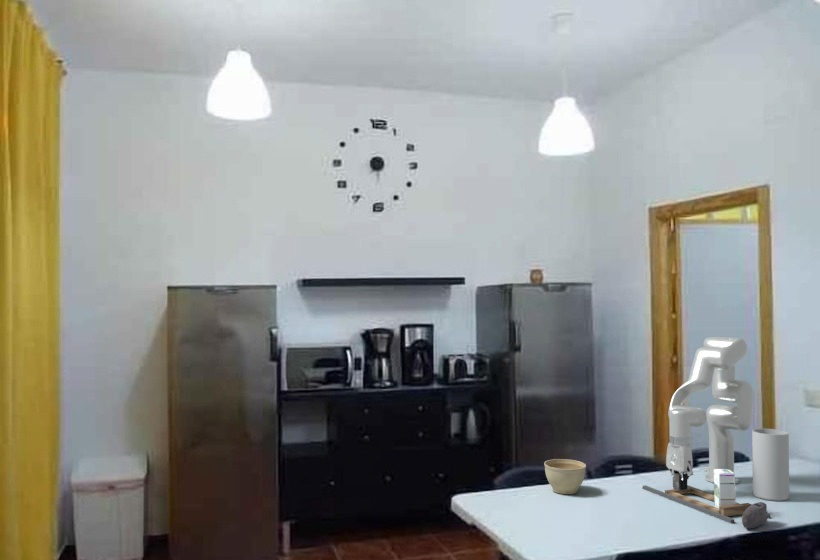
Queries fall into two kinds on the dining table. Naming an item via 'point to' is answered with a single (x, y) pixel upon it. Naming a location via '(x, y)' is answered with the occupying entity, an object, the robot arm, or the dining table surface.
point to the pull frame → (723, 510)
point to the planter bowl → (565, 475)
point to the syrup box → (724, 487)
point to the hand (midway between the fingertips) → (680, 487)
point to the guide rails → (691, 504)
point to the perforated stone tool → (755, 515)
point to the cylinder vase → (770, 464)
